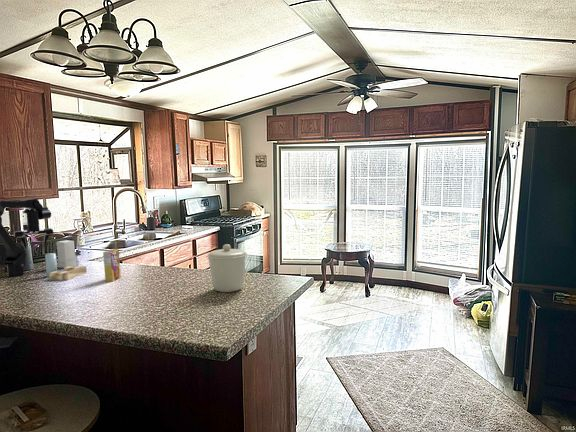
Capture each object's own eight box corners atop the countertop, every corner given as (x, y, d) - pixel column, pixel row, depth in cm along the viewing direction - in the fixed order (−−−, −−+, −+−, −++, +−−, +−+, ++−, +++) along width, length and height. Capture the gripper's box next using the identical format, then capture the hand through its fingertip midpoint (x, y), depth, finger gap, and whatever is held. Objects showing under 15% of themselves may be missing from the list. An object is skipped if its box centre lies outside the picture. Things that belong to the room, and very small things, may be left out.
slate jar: (47, 277, 212) (45, 255, 211) (46, 275, 216) (44, 254, 215) (58, 276, 215) (56, 254, 214) (56, 274, 219) (55, 252, 218)
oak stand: (49, 279, 207) (49, 273, 207) (69, 272, 223) (69, 266, 223) (68, 280, 206) (67, 273, 206) (86, 272, 222) (86, 266, 222)
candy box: (113, 277, 211) (111, 248, 209) (121, 277, 210) (119, 248, 209) (104, 281, 202) (102, 251, 200) (112, 281, 201) (111, 251, 200)
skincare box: (76, 266, 238) (74, 240, 236) (65, 268, 232) (63, 242, 230) (68, 265, 242) (67, 239, 240) (57, 267, 236) (55, 241, 235)
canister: (240, 296, 174) (239, 248, 172) (201, 294, 178) (199, 247, 175) (252, 284, 192) (251, 241, 189) (216, 283, 195) (215, 240, 193)
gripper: (49, 218, 240) (51, 243, 242) (11, 220, 229) (14, 247, 230) (52, 219, 232) (54, 246, 233) (13, 222, 220) (16, 250, 221)
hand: (35, 247), depth 230 cm, fingers open, 9 cm apart
